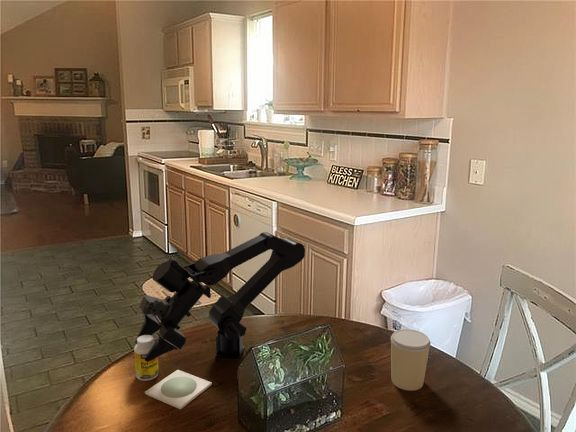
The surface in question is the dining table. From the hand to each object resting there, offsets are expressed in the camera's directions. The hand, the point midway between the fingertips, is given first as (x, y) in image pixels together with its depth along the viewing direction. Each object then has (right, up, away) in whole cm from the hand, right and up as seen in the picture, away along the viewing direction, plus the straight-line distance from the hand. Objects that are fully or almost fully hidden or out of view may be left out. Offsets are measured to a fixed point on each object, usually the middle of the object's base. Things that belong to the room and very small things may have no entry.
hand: (140, 352), depth 116 cm
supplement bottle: (+1, -7, +2) cm, 7 cm away
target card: (+10, -8, -3) cm, 13 cm away
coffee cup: (+66, -8, +1) cm, 66 cm away
